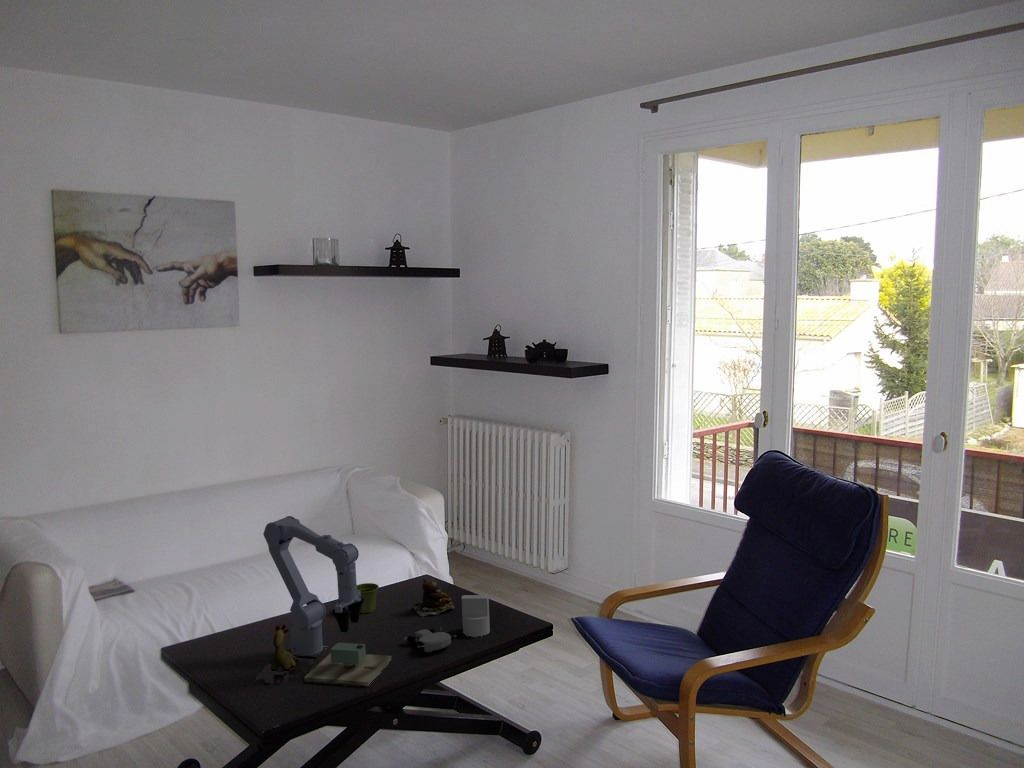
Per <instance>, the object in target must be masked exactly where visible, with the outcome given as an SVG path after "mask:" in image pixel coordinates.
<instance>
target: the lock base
mask: <svg viewBox="0 0 1024 768" xmlns="http://www.w3.org/2000/svg"><path fill="white" fill-rule="evenodd" d="M390 661H391V662H392V655H384V654H383V655H381V654H369V653H368V654H367V653H366V657H365V659H364V660H363V661H362V662H361V663H360V664H349V663H336V662H331V652H329V654H327V655H326V657H324V658H323V659H322V660H321V661H320V662H319V663H318V665H317V666H316V667H315V668H314V669H311V670H310V672H309V673H306V674H305V676H304V680H303V681H305V680H313V681H324V682H334V683H345V684H353V685H364V686H369V684H370V683H371V682H372V681H373V680H374V679H375V678H376V677H377V676H378V677H379V675H380V674H382V672H383V671H384V670H385V669H386V667H387V666H388V665H389V664H390V663H391V662H390ZM389 662H390V663H389ZM384 668H385V669H384ZM383 669H384V670H383ZM382 670H383V671H382ZM381 671H382V672H381ZM378 677H377V678H378ZM377 678H376V679H377ZM376 679H375V680H376ZM375 680H374V681H375ZM374 681H373V682H374ZM373 682H372V683H373ZM372 683H371V684H372ZM371 684H370V685H371ZM369 687H370V686H369Z"/></svg>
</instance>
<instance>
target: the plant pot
mask: <svg viewBox="0 0 1024 768" xmlns="http://www.w3.org/2000/svg"><path fill="white" fill-rule="evenodd" d="M379 588H380V587H379V585H378V584H377V583H374V582H366V583H365V582H364V583H360V584H357V590H360V592H361V596H360V597H359V598H363V599H364V602H363V604H362V606H361V610H360V614H366V613H368V614H370V612H371V613H373V612H374V610H375V611H376V604H377V594H378V591H379V590H378V589H379Z"/></svg>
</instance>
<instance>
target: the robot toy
mask: <svg viewBox="0 0 1024 768" xmlns="http://www.w3.org/2000/svg"><path fill="white" fill-rule="evenodd" d="M456 637H457V635H456V634H455V635H451V634H450V633H447V632H444V631H439V632H436V631H435V629H433V628H430V629H427V628H426V629H425V628H423V629H421V630H418V631H416V632H414V635H408V636H405V637H404V638H403V640H404V641H406V642H407V643H414V642H416V644H417V645H416V646H417V648H418V649H419V650H421V651H423V652H425V653H427V654H429V653H432V652H434V651H437V650H442V649H445V648H446V647H448V646H450V644H451V643H452V640H453V639H452V638H456Z"/></svg>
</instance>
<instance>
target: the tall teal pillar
mask: <svg viewBox="0 0 1024 768" xmlns="http://www.w3.org/2000/svg"><path fill="white" fill-rule="evenodd" d="M329 653H331V662H336V663H349V664H360V663H361V662H362V661H363V660H364V659H365V657H366V654H367V653H366V644H365V643H349V642H336V644H335V645H333V646H332V647H331V648H330V652H329Z"/></svg>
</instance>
